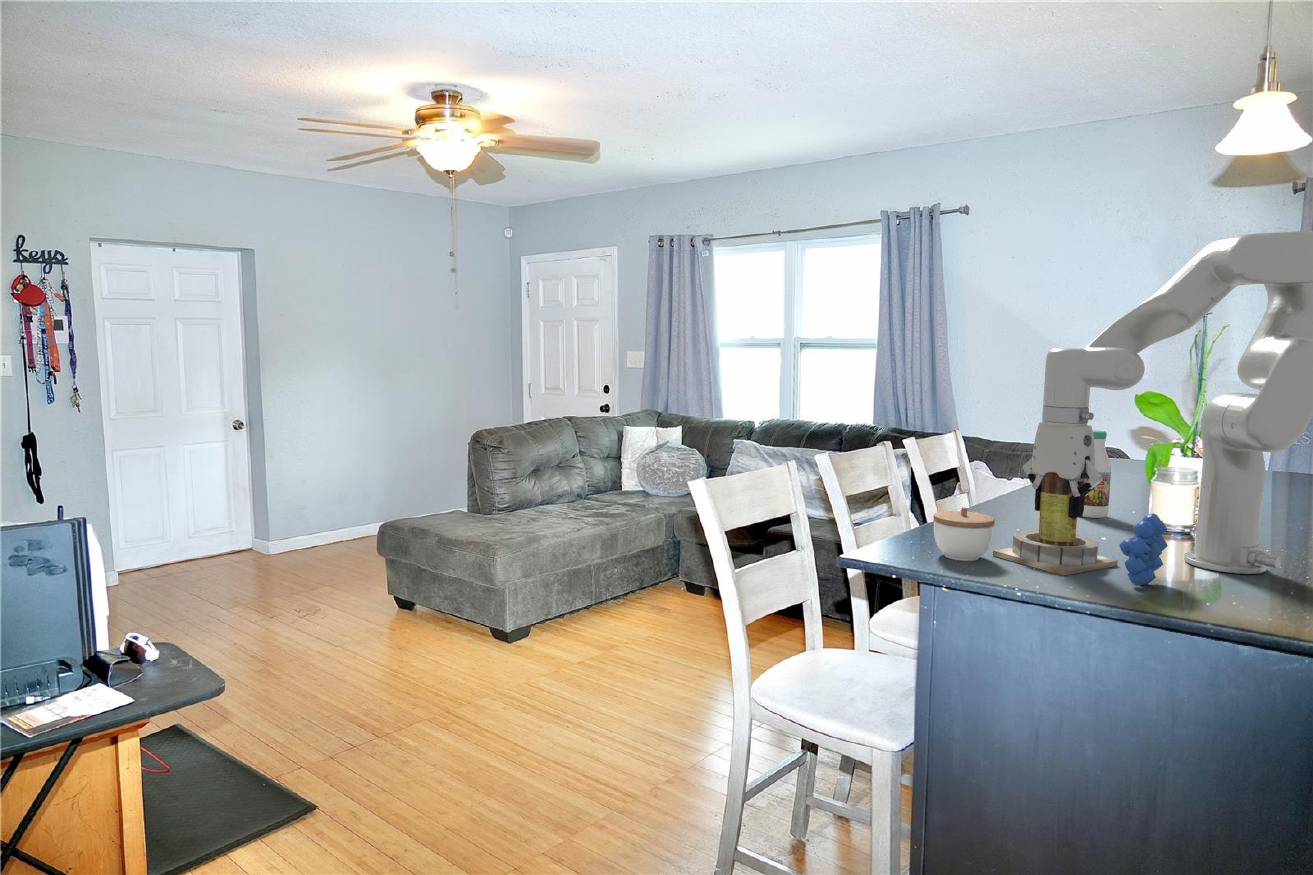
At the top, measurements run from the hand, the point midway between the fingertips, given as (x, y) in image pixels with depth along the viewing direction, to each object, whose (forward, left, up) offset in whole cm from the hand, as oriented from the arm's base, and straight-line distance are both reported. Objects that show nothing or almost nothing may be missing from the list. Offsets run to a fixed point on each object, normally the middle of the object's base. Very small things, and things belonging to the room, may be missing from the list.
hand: (1058, 512), depth 157 cm
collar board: (0, 0, -9) cm, 9 cm away
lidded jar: (+10, +14, -9) cm, 19 cm away
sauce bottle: (0, 0, -7) cm, 7 cm away
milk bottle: (+24, -45, -9) cm, 52 cm away
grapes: (-16, 0, -9) cm, 18 cm away
